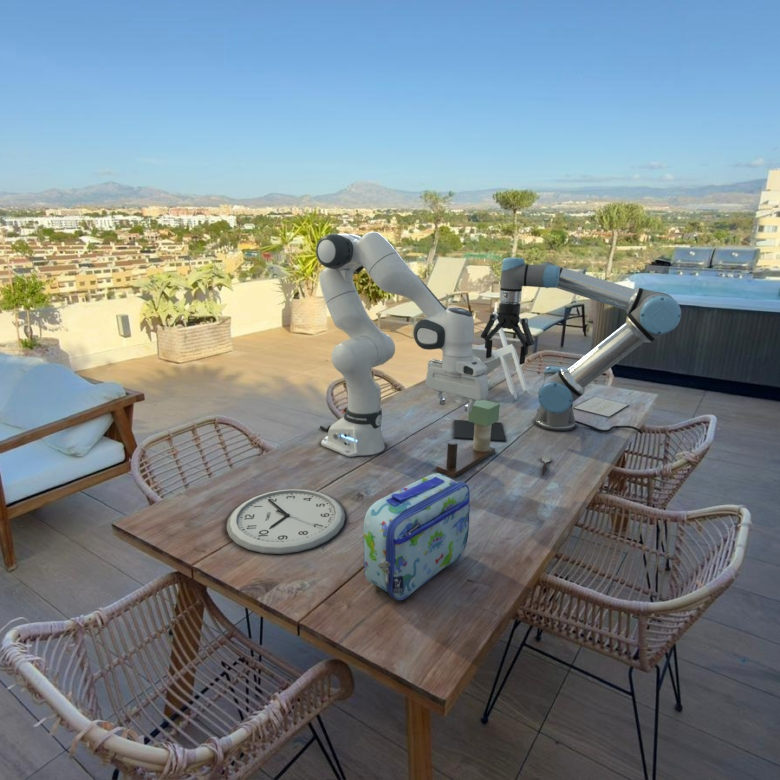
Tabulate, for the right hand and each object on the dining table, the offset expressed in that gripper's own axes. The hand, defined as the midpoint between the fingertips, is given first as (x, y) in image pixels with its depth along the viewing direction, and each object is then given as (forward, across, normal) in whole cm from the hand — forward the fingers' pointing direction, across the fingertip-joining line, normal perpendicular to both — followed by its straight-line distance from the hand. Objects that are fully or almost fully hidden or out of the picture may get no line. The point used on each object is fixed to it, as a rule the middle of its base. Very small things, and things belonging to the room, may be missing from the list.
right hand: (504, 360), depth 192 cm
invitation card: (+27, +21, +53) cm, 63 cm away
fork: (+27, +28, -20) cm, 43 cm away
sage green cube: (+15, +6, -24) cm, 30 cm away
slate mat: (+27, -4, -8) cm, 28 cm away
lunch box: (+27, +29, -91) cm, 99 cm away
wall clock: (+27, -10, -96) cm, 100 cm away
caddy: (+27, +6, -34) cm, 43 cm away
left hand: (+6, +6, -43) cm, 44 cm away
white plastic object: (+27, -29, +35) cm, 53 cm away
